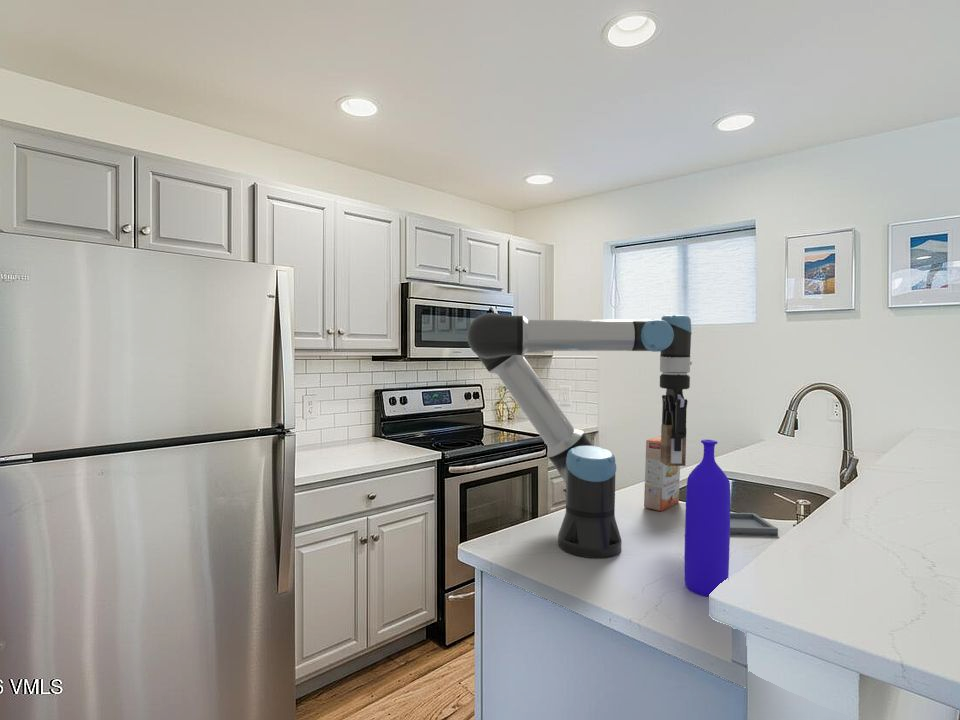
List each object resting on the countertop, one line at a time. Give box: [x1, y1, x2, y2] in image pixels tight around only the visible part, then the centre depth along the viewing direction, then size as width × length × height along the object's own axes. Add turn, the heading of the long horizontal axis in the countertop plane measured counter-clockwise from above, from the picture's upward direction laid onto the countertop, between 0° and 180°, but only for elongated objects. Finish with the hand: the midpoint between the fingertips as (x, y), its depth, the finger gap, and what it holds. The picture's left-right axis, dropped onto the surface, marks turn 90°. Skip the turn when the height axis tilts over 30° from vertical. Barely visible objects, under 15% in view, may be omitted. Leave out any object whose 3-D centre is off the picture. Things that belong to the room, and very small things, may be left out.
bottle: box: [683, 439, 731, 598], centre depth 106 cm, size 8×8×30 cm
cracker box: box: [643, 435, 681, 512], centre depth 163 cm, size 14×6×21 cm, turn 138°
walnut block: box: [660, 424, 687, 467], centre depth 141 cm, size 5×5×10 cm
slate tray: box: [730, 512, 779, 537], centre depth 144 cm, size 13×13×2 cm
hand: (672, 460), depth 141 cm, fingers closed on walnut block, 5 cm apart
